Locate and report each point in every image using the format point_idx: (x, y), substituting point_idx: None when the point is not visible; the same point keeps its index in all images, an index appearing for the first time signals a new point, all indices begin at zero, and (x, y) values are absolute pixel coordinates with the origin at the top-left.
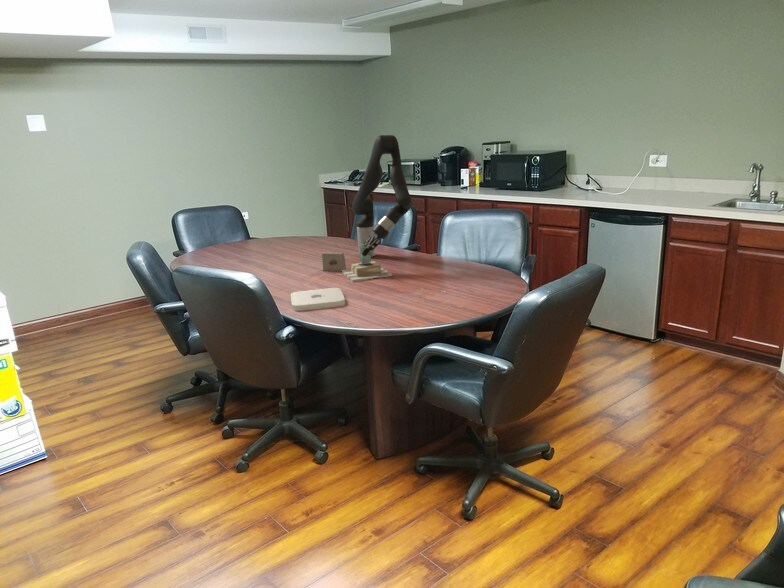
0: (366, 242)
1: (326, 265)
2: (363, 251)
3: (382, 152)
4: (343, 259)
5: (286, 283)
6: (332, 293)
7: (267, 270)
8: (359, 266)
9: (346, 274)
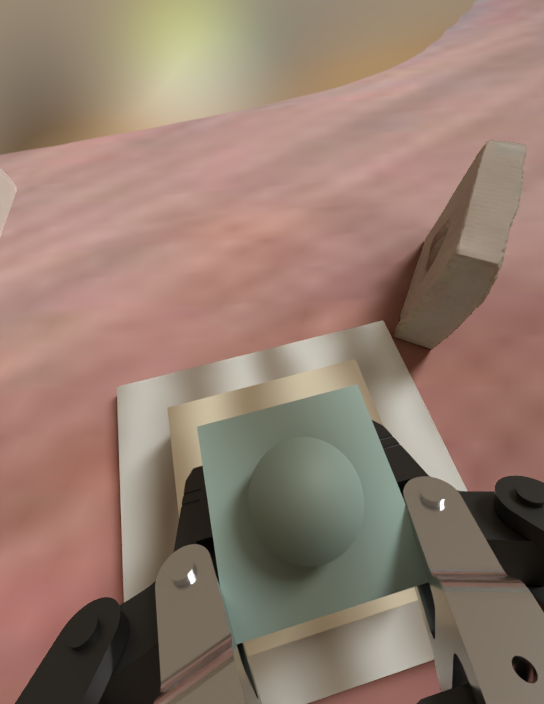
0: (436, 577)
1: (434, 232)
2: None
3: None
4: (447, 298)
5: (226, 144)
6: None
7: (446, 79)
8: None
9: (268, 350)
